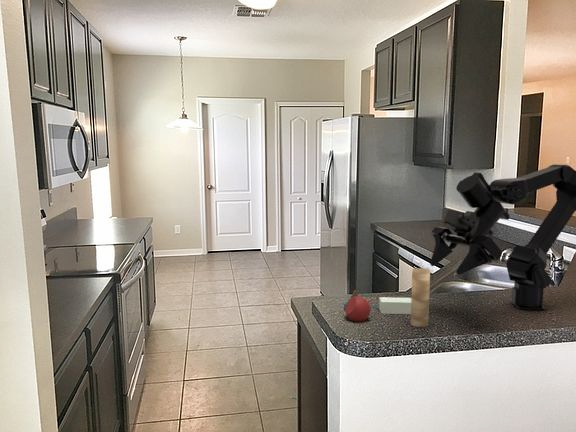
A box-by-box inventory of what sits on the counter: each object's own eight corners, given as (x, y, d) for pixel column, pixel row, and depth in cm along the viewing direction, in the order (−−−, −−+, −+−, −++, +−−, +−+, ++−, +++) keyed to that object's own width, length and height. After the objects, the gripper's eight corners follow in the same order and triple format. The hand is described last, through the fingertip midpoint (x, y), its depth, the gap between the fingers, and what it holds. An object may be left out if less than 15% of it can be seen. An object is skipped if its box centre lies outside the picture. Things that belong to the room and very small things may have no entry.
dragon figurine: (357, 298, 133) (340, 293, 127) (380, 293, 128) (364, 286, 123) (359, 322, 130) (342, 318, 124) (383, 318, 126) (366, 312, 120)
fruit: (368, 330, 117) (384, 301, 117) (349, 320, 115) (365, 290, 115) (358, 321, 123) (373, 293, 123) (340, 312, 121) (355, 284, 121)
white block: (410, 309, 126) (410, 297, 126) (413, 314, 122) (413, 302, 122) (379, 308, 127) (379, 297, 126) (381, 313, 123) (381, 302, 122)
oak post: (426, 321, 117) (428, 268, 116) (429, 327, 113) (431, 272, 112) (409, 321, 118) (410, 268, 116) (412, 327, 114) (414, 272, 112)
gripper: (438, 194, 125) (401, 240, 122) (495, 201, 108) (453, 255, 105) (461, 223, 129) (425, 268, 126) (519, 235, 112) (479, 287, 109)
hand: (443, 269), depth 116 cm, fingers open, 9 cm apart
